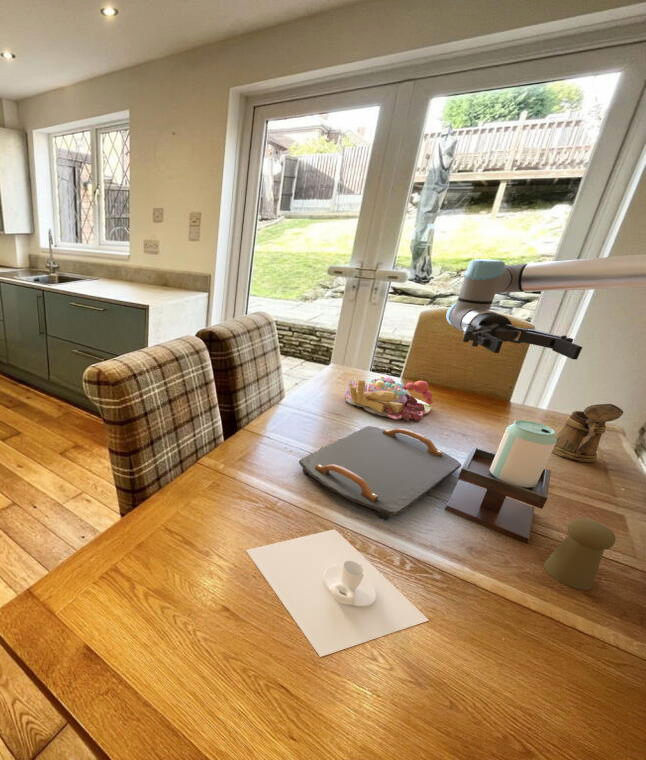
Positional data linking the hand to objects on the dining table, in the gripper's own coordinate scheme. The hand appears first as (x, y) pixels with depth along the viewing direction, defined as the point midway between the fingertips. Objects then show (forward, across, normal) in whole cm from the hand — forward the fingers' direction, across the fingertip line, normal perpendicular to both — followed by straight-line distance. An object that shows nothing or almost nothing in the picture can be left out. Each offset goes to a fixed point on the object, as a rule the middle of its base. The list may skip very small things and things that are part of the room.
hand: (537, 350), depth 83 cm
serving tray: (+6, +25, -32) cm, 41 cm away
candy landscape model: (-38, +12, -32) cm, 51 cm away
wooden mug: (-17, -26, -32) cm, 45 cm away
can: (+15, +5, -23) cm, 28 cm away
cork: (+30, +1, -32) cm, 44 cm away
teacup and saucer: (+44, +41, -32) cm, 68 cm away
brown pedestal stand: (+14, +6, -32) cm, 35 cm away
